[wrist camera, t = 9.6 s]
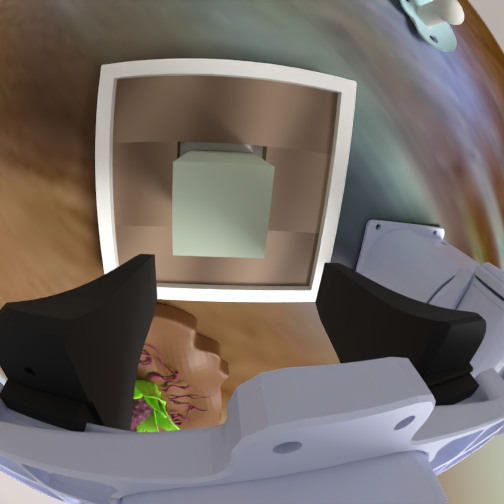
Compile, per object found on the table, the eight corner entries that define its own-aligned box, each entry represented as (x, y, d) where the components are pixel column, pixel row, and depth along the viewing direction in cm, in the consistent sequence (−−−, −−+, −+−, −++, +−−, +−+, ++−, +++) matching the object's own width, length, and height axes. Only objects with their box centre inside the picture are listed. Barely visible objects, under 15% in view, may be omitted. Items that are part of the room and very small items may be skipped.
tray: (338, 86, 17) (356, 81, 15) (310, 282, 24) (321, 301, 21) (116, 72, 15) (101, 65, 12) (119, 276, 22) (108, 295, 19)
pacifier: (417, -17, 13) (380, -9, 14) (457, -34, 7) (422, -33, 8) (455, 44, 16) (425, 59, 17) (500, 38, 10) (475, 51, 11)
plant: (99, 418, 30) (85, 483, 20) (32, 307, 22) (-19, 381, 12) (238, 418, 32) (248, 494, 22) (216, 294, 24) (221, 404, 14)
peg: (251, 152, 18) (274, 166, 11) (246, 209, 20) (264, 258, 13) (191, 149, 18) (173, 161, 10) (189, 206, 19) (172, 255, 12)
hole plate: (329, 95, 17) (338, 93, 16) (303, 276, 23) (309, 286, 21) (124, 82, 15) (117, 79, 14) (126, 270, 21) (120, 280, 19)
